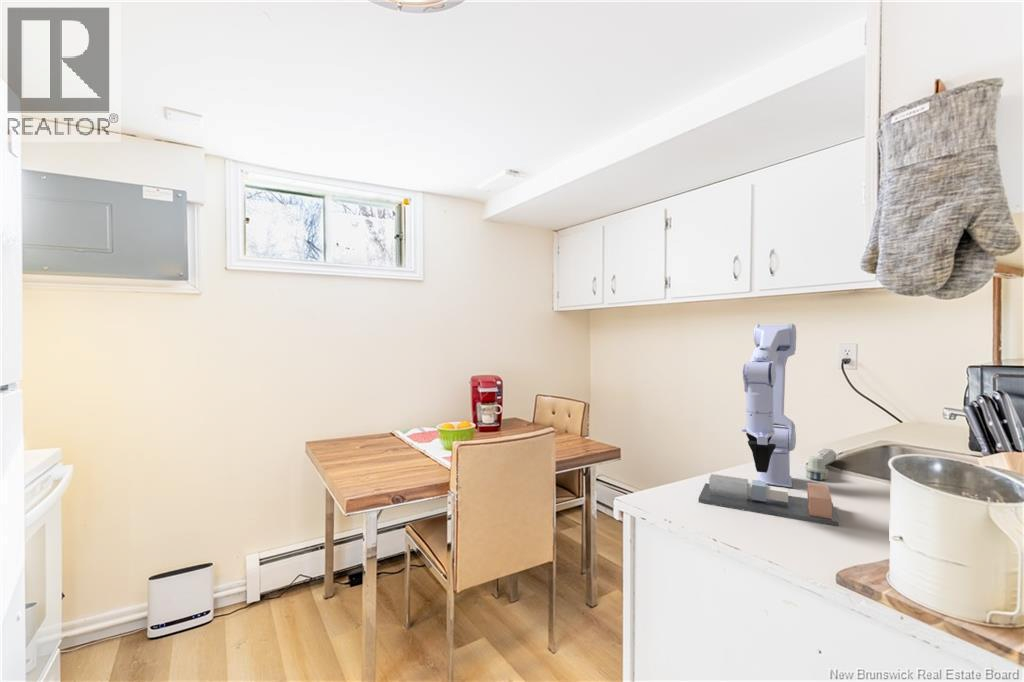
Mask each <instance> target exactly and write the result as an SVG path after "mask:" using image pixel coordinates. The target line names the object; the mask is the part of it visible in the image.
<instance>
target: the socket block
mask: <svg viewBox="0 0 1024 682" xmlns="http://www.w3.org/2000/svg"><path fill="white" fill-rule="evenodd" d="M806 486H807V490H806V492H807V493H806V494H807V496H806V498H807V501H808V507H809V514H810V515H812V516H818V517H824V518H830V519H832V503H833V500H832V497H831V493H830V490H829V486H828V485H827V484H819V483H813V482H807V483H806Z"/></svg>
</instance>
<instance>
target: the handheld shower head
mask: <svg viewBox="0 0 1024 682" xmlns="http://www.w3.org/2000/svg"><path fill="white" fill-rule="evenodd" d="M836 460H837V453H836V451H834V450H833V449H829V448H823V449H821V450H820V451H819V452H818V453H817V455H816V456H809V458H808V461H807V462H808V463H807V464H808V465H806V466H804V470H805V471H806V473H805V476H806V478H808V479H813V480H818V481H823V480H824V481H826V480H827V474H828V473H829V469H827V468H826V465H828V464H832V463H834V462H835V461H836Z"/></svg>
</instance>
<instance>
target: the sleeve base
mask: <svg viewBox="0 0 1024 682" xmlns="http://www.w3.org/2000/svg"><path fill="white" fill-rule="evenodd" d="M708 480H709V481H708V483H704V485H703V488H702V490H701V492H700V494H699V496H698V503H700V502H704V503H703V504H706V503H709V504H708V505H712V504H716V505H715V506H718V505H722V506H721V507H724V506H727V507H726V508H730V507H733V508H732V509H735V508H738V509H737V510H741V509H744V511H747V510H749V512H753V511H754V512H753V513H759V514H760V513H761V514H765V515H769V516H771V515H772V516H778V517H783V518H790V519H796V520H800V521H805V522H812V523H818V524H824V525H830V526H834V527H835V526H836V527H839V520H838V517H837V513H836V510H835V506H834V503H833V502H832V519H830V518H824V517H818V516H812V515H810V514H809V507H808V501H807V497H799V496H793V495H788V502H783V501H776V500H770V499H766V502H765V501H758V500H752V497H751V496H747V484H748V483H749V479H748V478H742V477H736V476H735V477H734V476H727V475H719V474H713V473H712V474H710V476H709V479H708Z"/></svg>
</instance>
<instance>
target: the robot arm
mask: <svg viewBox="0 0 1024 682" xmlns="http://www.w3.org/2000/svg"><path fill="white" fill-rule="evenodd" d="M753 342H754V344H755V349H754V350H753V351H752V353H751V356H750V359H749V361H748V362H747V363H744V364H743V368H742V381H743V387H744V392H745V397H746V398H745V404H746V405H745V408H746V410H745V411H746V415H745V416H746V419H745V420H746V427H743V426H742V427H741V429H740V430H741V431H740V432H743V433H745V435H746V437H747V444H748V446H749V448H750V450H751V453H752V457H753V458H752V459H753V461H754V466H755V469H756V472H758V475H757V476H758V477H757V480H758V481H765V482H766V485H770V486H776V487H777V486H778V487H782V488H793V487H792V486H793V484H792V476H791V471H790V466H791V465H790V464H791V463H790V461H791V460H790V459H791V458H790V453H791V452H792V451H794V450H795V449H796V443H797V439H796V438H797V433H796V425H795V422H794V421H793V420H791V419H790V418H788V417H787V415H785V412H784V411H785V395H786V394H785V390H786V389H785V387H786V365H787V362H788V359H789V358H790V357H791V356H793V355H796V354H795V353H796V350H797V327H796V325H795V324H794V323H789V324H788V323H785V324H784V323H783V324H782V323H779V324H777V323H775V324H760V323H758V324H756V325H755V326H754V328H753Z"/></svg>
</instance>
